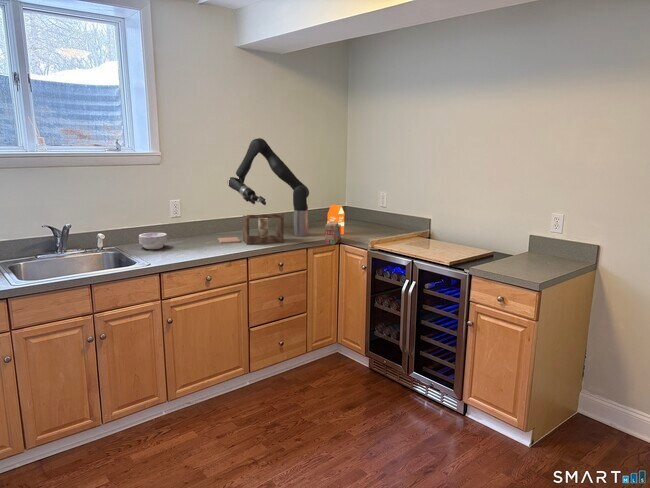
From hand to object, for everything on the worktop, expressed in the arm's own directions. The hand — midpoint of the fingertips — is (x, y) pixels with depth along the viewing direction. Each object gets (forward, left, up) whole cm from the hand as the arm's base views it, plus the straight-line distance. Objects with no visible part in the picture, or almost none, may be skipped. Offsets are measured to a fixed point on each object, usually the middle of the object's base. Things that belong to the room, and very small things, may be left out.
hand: (260, 203), depth 312 cm
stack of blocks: (-43, +21, -23) cm, 53 cm away
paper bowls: (+66, +15, -22) cm, 71 cm away
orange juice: (-53, +1, -22) cm, 57 cm away
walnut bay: (+1, +14, -22) cm, 26 cm away
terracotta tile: (+21, +6, -22) cm, 31 cm away
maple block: (+1, +14, -19) cm, 23 cm away
